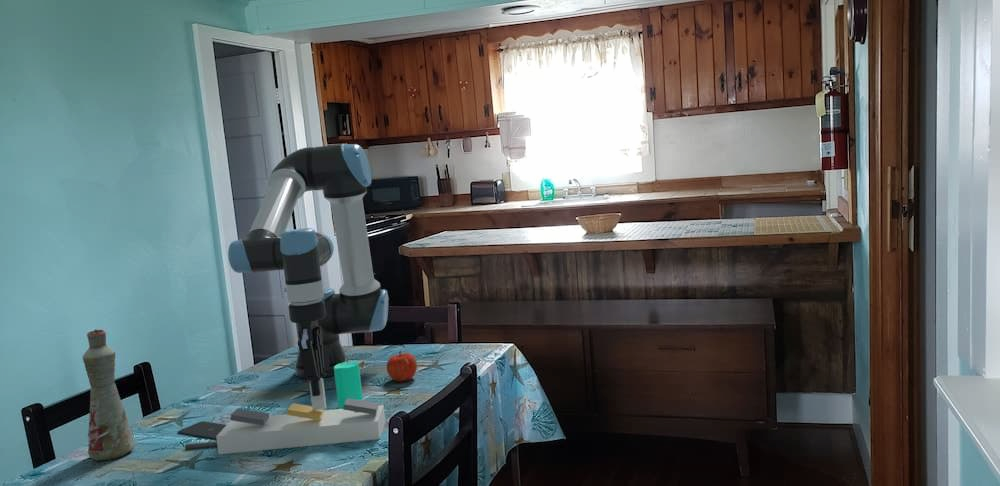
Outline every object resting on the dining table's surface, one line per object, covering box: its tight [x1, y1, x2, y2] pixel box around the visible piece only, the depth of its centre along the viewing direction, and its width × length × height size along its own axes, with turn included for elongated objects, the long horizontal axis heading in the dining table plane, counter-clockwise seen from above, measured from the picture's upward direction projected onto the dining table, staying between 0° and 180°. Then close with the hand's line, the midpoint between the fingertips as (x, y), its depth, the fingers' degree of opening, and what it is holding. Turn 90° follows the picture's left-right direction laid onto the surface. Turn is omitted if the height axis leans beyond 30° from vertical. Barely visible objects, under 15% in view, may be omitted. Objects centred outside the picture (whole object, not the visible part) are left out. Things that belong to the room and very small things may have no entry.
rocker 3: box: [343, 398, 380, 415], centre depth 155 cm, size 4×7×1 cm, turn 92°
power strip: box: [184, 404, 386, 455], centre depth 156 cm, size 10×43×4 cm, turn 92°
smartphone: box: [177, 420, 227, 441], centre depth 165 cm, size 7×1×15 cm
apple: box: [386, 350, 418, 383], centre depth 192 cm, size 8×8×8 cm
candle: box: [334, 359, 364, 409], centre depth 174 cm, size 6×6×12 cm
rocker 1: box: [230, 408, 270, 425], centre depth 154 cm, size 4×7×1 cm, turn 92°
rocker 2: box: [286, 402, 325, 420], centre depth 154 cm, size 4×7×1 cm, turn 92°
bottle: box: [82, 328, 136, 461], centre depth 154 cm, size 9×9×28 cm
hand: (319, 408), depth 154 cm, fingers closed
